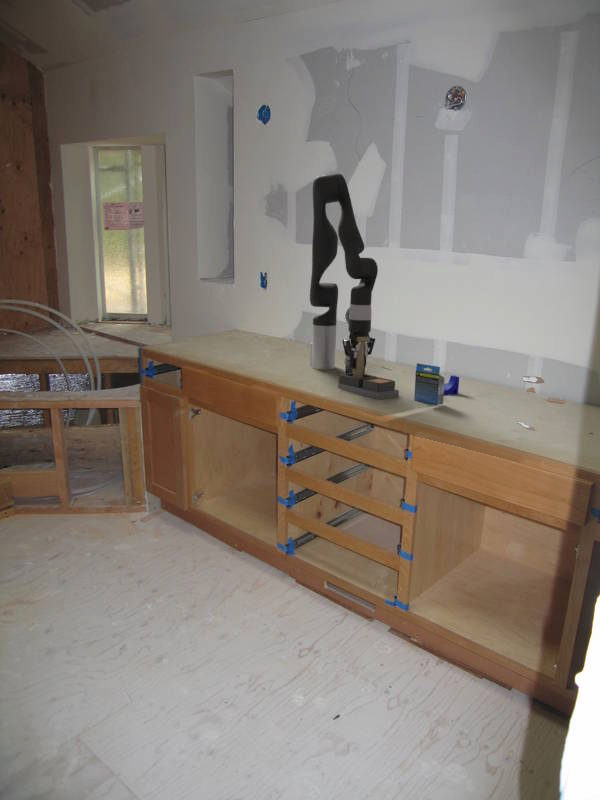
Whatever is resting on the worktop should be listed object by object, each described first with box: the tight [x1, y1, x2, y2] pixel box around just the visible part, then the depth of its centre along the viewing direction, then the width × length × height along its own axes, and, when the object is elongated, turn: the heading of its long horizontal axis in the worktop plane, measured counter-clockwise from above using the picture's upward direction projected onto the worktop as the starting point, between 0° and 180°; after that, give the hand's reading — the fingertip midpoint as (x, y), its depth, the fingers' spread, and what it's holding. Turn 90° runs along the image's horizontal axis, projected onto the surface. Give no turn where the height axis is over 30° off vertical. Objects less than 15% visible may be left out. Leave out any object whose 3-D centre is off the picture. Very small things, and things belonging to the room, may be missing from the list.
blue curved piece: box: [444, 375, 460, 396], centre depth 218 cm, size 12×4×6 cm, turn 112°
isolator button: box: [368, 379, 389, 383], centre depth 213 cm, size 6×6×2 cm
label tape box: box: [413, 362, 445, 405], centre depth 205 cm, size 9×4×12 cm, turn 48°
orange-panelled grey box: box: [337, 372, 400, 400], centre depth 217 cm, size 20×9×5 cm, turn 40°
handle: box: [351, 335, 370, 378], centre depth 219 cm, size 5×6×15 cm
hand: (357, 367), depth 220 cm, fingers closed on handle, 4 cm apart
